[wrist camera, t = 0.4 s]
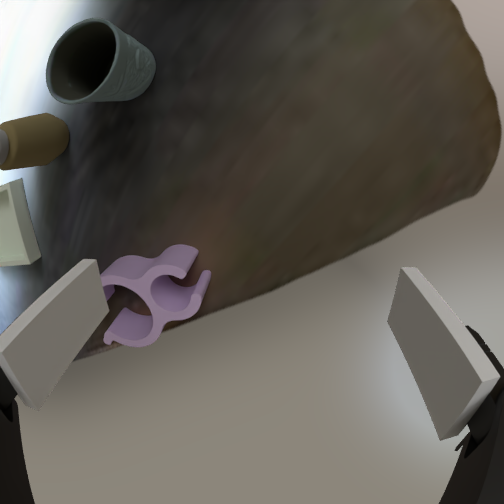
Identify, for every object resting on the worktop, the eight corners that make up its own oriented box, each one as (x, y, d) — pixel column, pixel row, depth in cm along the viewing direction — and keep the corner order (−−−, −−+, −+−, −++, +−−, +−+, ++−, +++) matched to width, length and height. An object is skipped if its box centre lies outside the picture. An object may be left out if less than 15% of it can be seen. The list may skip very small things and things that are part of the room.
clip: (183, 223, 40) (167, 241, 34) (225, 295, 44) (217, 322, 38) (90, 274, 45) (69, 294, 38) (130, 331, 49) (115, 355, 42)
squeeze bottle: (62, 171, 38) (-23, 201, 21) (34, 147, 36) (-48, 168, 20) (83, 126, 35) (-7, 137, 18) (53, 104, 33) (-34, 109, 17)
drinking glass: (175, 63, 31) (137, 40, 20) (128, 121, 35) (78, 122, 24) (127, 30, 29) (82, 5, 18) (86, 85, 32) (32, 79, 21)
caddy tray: (-17, 194, 40) (-28, 198, 36) (22, 178, 38) (9, 182, 35) (1, 260, 45) (-9, 267, 42) (41, 256, 44) (30, 264, 41)
